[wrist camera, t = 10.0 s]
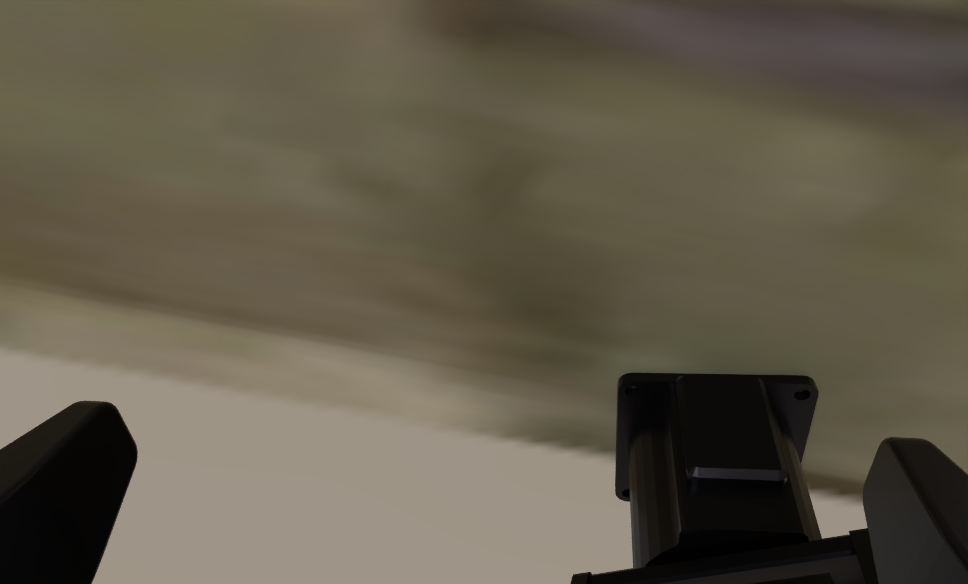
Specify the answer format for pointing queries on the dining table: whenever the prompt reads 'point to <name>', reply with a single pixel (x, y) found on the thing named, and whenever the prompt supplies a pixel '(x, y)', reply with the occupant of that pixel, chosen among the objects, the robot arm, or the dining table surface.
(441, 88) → the dining table surface
